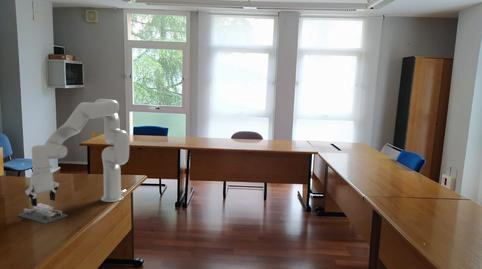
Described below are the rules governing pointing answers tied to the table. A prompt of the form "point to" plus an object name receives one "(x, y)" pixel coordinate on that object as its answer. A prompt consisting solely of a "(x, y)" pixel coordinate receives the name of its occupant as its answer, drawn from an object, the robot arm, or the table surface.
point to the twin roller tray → (44, 216)
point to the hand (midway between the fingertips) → (43, 202)
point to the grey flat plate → (39, 218)
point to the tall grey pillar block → (42, 209)
